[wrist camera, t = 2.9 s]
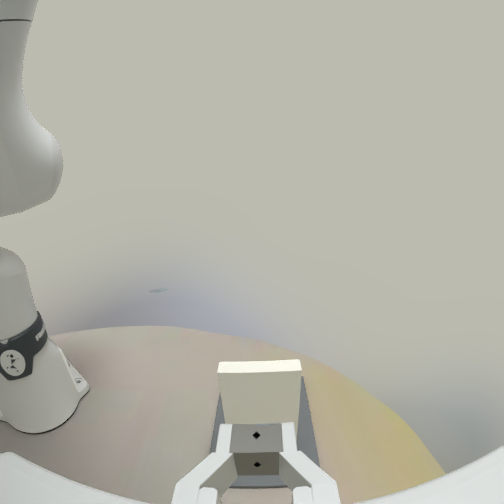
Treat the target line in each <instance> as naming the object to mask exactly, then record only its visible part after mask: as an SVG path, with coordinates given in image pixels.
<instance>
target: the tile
mask: <svg viewBox="0 0 504 504" xmlns="http://www.w3.org/2000/svg"><path fill="white" fill-rule="evenodd" d="M301 372H302V370H301V365H300V360H299V359H297V360H279V361H252V362H219V367H218V372H217V374H218V381H219V387H220V394H221V400H222V406H223V413H224V419H225V424H266V423H285V422H293V423H294V427H295V435H296V441H297V430H298V417H299V404H300V389H301Z"/></svg>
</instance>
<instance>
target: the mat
mask: <svg viewBox="0 0 504 504" xmlns="http://www.w3.org/2000/svg"><path fill="white" fill-rule="evenodd" d="M220 424H225V419H224V413H223V406H222V400H221V394H220V396H219V402H218V407H217V413H216V419H215V425H214V431H213V437H212V442H211V448H210V454H211V453H212V452H216V445H217V439H218V433H219V427H220ZM296 444H297V451H302V452H303V453H304V454H305V455H306V456H307V457H308V458H309V459H310V460H312V461H313V462H314V463H315V464H316V465H317V466H318V467H319V468H320V465H319V459H318V454H317V448H316V442H315V437H314V431H313V426H312V421H311V415H310V410H309V405H308V399H307V394H306V389H305V384H304V379H303V376H301V389H300V404H299V417H298V430H297V441H296ZM210 454H209V455H210ZM279 487H288V486H287V485H286V484H285V482H284V481H283V480H282V479H281V478H280V476H279V475H252V476H238V477H237V478H236V480H235V481H234V482H233V483H232V484H231V486H230V487H229V488H279Z"/></svg>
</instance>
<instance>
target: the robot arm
mask: <svg viewBox="0 0 504 504" xmlns="http://www.w3.org/2000/svg"><path fill="white" fill-rule="evenodd" d="M37 2H38V0H0V217H2V216H6V215H11V214H15V213H20V212H23V211H25V210H28V209H30V208H32V207H35V206H37V205H39V204H41V203H43V202H46V201H48V200H50V199H51V198H52V196H53V195H54V193H55V192H56V190H57V187H58V186H59V183H60V180H61V176H62V170H63V158H62V153H61V149H60V147H59V145H58V142H57V141H56V139H55V138H54V136H53V135H52V134H51V133H50V132H49V131H47V130H46V129H44V128H43V127H42V126H41V125H40V124H38V122H37V121H36V120H35V119H34V117H33V116H32V114H31V113H30V111H29V109H28V107H27V105H26V102H25V99H24V95H23V89H22V69H23V60H24V53H25V47H26V43H27V38H28V34H29V30H30V27H31V23H32V20H33V16H34V13H35V9H36V6H37ZM89 389H90V387H89V385H88V383H87V381H86V380H85V379H84V378H83V377H82V376H81V375H80V373H79V372H78V371H77V370H76V369H75V368H74V367H73V365H72V364H71V363H70V362H69V361H68V359H67V358H66V357H65V356H64V354H63V352H62V350H61V348H58V347H57V345H56V344H55V343H54V342H53V341H52V340H51V339H50V338H49V337H48V336H47V332H46V329H45V324H44V322H43V319H42V318H41V315H40V313H39V312H38V311H37V310H36V307H35V304H34V300H33V296H32V293H31V289H30V285H29V281H28V277H27V273H26V268H25V265H24V263H23V261H22V260H21V259H20V257H19V256H18V255H16V254H15V253H14V252H12V251H10V250H8V249H5V248H2V247H0V420H2V421H6V422H8V423H9V424H11V425H12V426H13V427H14V428H16V429H17V430H20V431H22V432H27V433H40V432H45V431H48V430H51V429H53V428H55V427H57V426H59V425H61V424H62V423H63V422H65V421H66V420H67V419H68V418H69V417H70V416H71V415H72V414H73V412H74V411H75V409H76V407H77V405H78V402H79V400H80V399H81V398H82V397H83V396H84V395H85V394H86V393H87V392H88V390H89ZM252 475H279V476H280V478H281V479H282V480H283V481H284V482H285V484H286V485H287V486H288V487H289V488H290V490H291V491H292V492H293V494H292V503H291V504H340V499H339V494H338V489H337V485H336V481H335V480H333V479H332V478H331V477H330V476H329V475H327V474H326V473H325V472H324V471H323V470H322V469H321V468H319V467H318V466H317V465H316V464H315V463H314V462H313V461H312V460H310V459H309V458H308V457H307V456H306V455H305V454H304V453H303V452H302V451H297V444H296V435H295V427H294V423H293V422H285V423H266V424H220V427H219V433H218V439H217V445H216V452H212V453H211V454H210V455H209V456H207V457H206V458H205V459H204V460H203V461H202V462H201V463H200V464H198V465H197V466H196V467H195V468H194V469H193V470H192V471H190V472H189V473H188V474H187V475H186V476H184V477H183V478H182V479H181V480H180V481H178V482H177V483H176V486H175V490H174V494H173V498H172V502H171V504H222V502H221V499H220V497H221V496H222V495H223V494H224V493H225V491H226V490H227V489H228V488H229V487H230V486H231V484H232V483H233V482H234V481H235V480H236V478H237V477H238V476H252ZM0 504H152V503H147V502H142V501H138V500H134V499H130V498H126V497H122V496H118V495H115V494H111V493H108V492H105V491H101V490H98V489H95V488H92V487H89V486H86V485H84V484H81V483H78V482H76V481H73V480H70V479H68V478H65V477H63V476H61V475H58V474H56V473H54V472H51V471H49V470H47V469H45V468H43V467H40V466H38V465H36V464H34V463H32V462H30V461H28V460H26V459H25V458H23V457H21V456H19V455H17V454H15V453H13V452H5V453H1V454H0ZM352 504H504V445H503V446H501V447H499V448H498V449H496V450H494V451H492V452H491V453H489V454H487V455H485V456H483V457H481V458H480V459H478V460H476V461H474V462H472V463H470V464H468V465H466V466H464V467H461V468H459V469H457V470H455V471H453V472H450V473H448V474H446V475H443V476H441V477H439V478H436V479H434V480H431V481H428V482H426V483H423V484H420V485H417V486H415V487H412V488H409V489H406V490H402V491H399V492H396V493H393V494H389V495H386V496H382V497H378V498H374V499H370V500H366V501H362V502H357V503H352Z"/></svg>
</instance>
